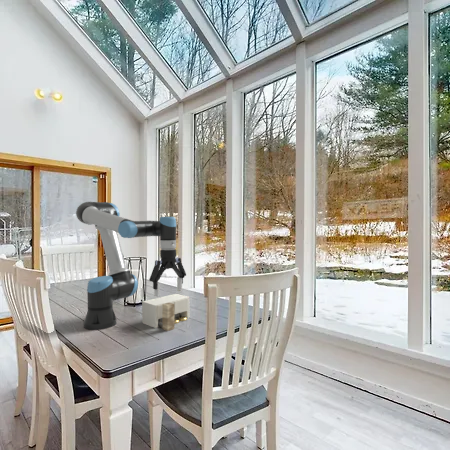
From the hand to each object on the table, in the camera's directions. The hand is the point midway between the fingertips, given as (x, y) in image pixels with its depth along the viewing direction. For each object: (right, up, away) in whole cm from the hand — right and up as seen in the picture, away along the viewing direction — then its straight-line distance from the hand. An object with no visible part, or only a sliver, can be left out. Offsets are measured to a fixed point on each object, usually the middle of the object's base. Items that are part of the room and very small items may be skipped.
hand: (168, 293), depth 152 cm
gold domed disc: (+5, -17, +15) cm, 23 cm away
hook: (+1, -17, +8) cm, 19 cm away
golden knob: (+1, -17, +11) cm, 20 cm away
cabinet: (-3, -17, +13) cm, 22 cm away
